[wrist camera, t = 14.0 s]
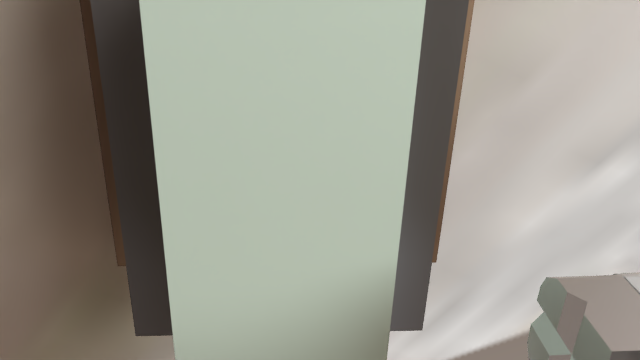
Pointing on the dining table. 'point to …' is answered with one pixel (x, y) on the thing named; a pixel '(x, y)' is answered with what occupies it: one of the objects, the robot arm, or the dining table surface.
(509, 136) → the dining table surface
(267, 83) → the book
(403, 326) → the book rack
